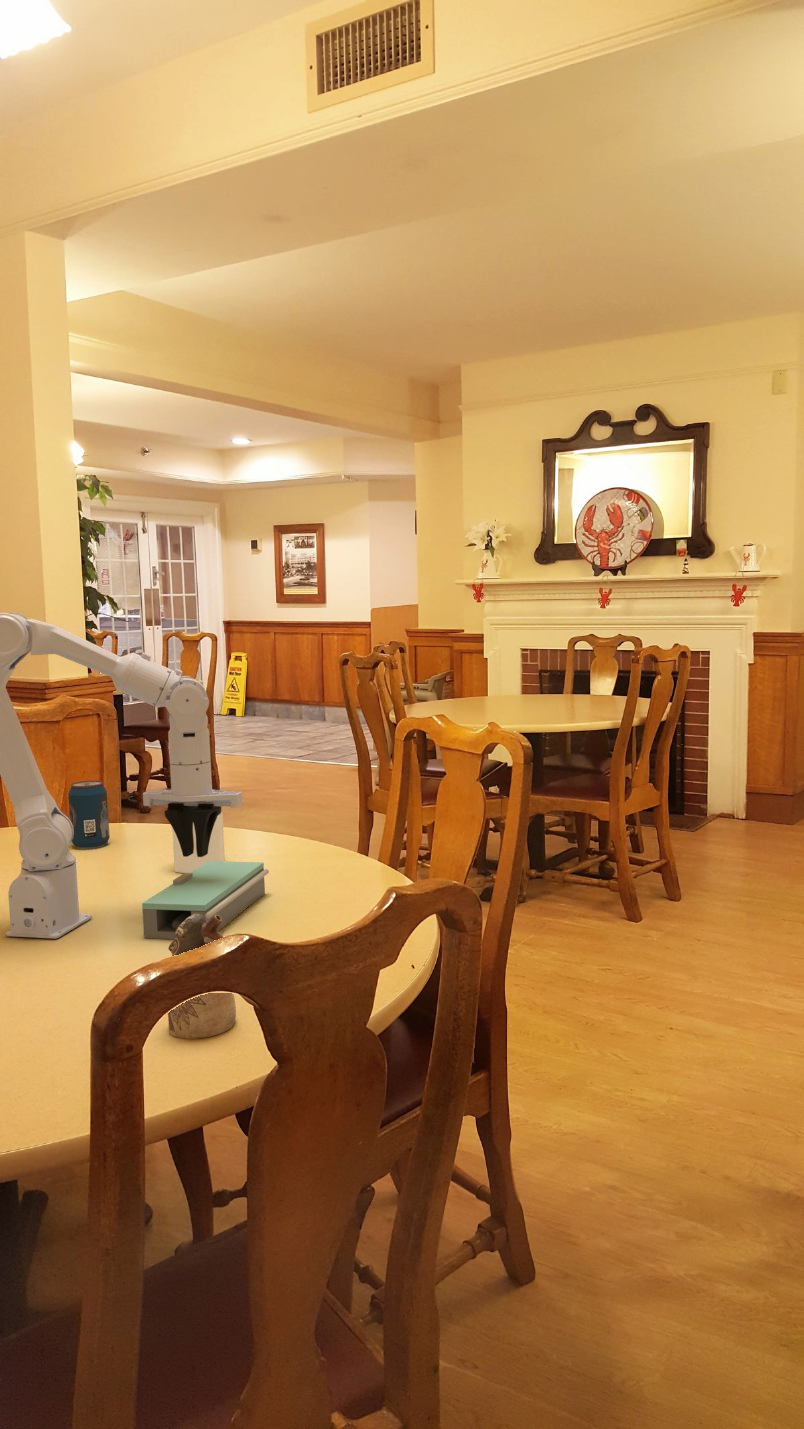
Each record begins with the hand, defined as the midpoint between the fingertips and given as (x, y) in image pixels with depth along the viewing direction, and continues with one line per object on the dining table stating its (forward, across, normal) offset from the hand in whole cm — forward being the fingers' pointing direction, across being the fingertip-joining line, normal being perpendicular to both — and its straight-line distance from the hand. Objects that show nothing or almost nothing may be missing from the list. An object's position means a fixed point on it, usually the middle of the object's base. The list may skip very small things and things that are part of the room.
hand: (195, 855), depth 144 cm
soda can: (+9, +39, -36) cm, 53 cm away
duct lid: (+4, -2, +1) cm, 5 cm away
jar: (+9, +10, -23) cm, 27 cm away
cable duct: (+8, -2, +1) cm, 9 cm away
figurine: (+9, -17, +36) cm, 41 cm away
